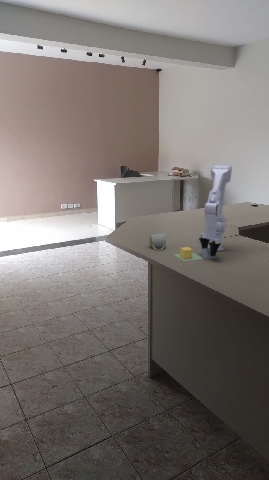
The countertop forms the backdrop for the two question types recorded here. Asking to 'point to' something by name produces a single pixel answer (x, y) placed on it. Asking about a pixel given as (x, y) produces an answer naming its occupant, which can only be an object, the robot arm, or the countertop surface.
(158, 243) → the ceramic mug
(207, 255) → the blue brick
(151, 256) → the countertop surface
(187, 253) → the yellow brick
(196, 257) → the baseplate
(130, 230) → the countertop surface
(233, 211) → the countertop surface
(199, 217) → the countertop surface
